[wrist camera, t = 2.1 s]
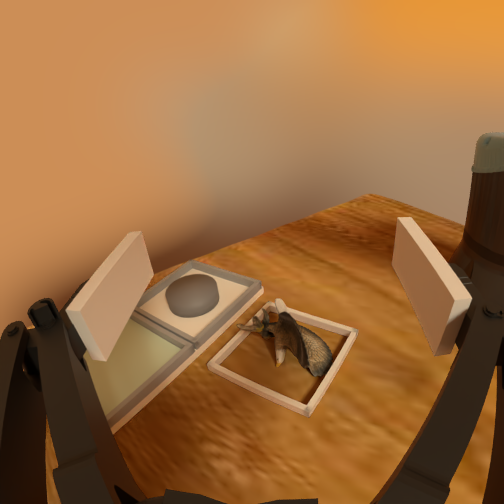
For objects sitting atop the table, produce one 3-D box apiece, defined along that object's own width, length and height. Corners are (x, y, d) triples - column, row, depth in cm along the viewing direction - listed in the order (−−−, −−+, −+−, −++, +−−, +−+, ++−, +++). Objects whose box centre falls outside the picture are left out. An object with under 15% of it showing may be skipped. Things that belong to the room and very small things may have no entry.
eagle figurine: (230, 361, 32) (301, 390, 26) (239, 295, 32) (315, 313, 26) (275, 353, 38) (339, 373, 32) (283, 296, 38) (351, 309, 32)
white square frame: (268, 307, 41) (268, 301, 40) (357, 335, 34) (358, 329, 34) (208, 369, 32) (206, 363, 32) (309, 417, 26) (309, 412, 25)
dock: (195, 269, 51) (191, 253, 49) (263, 292, 44) (261, 274, 42) (57, 374, 32) (45, 358, 31) (111, 435, 25) (98, 420, 23)
